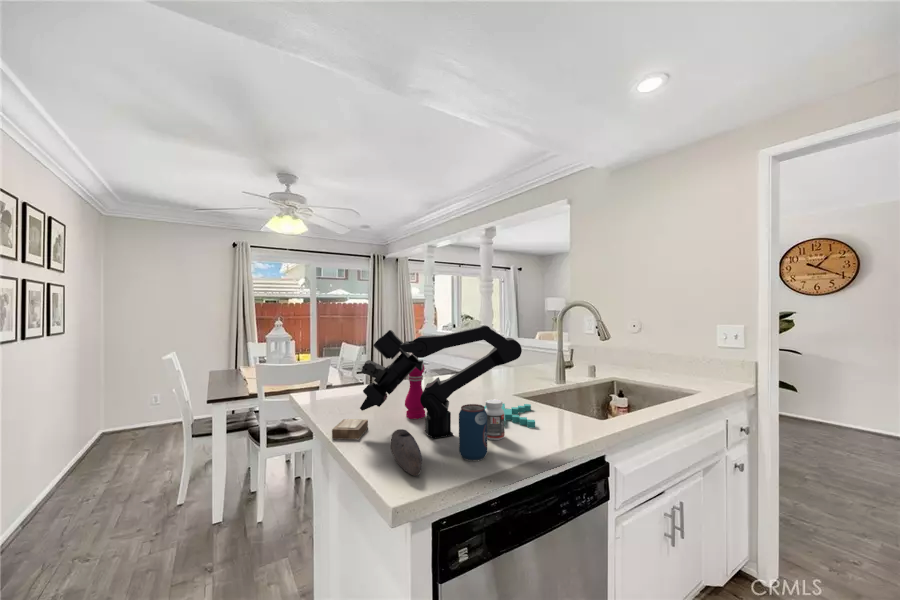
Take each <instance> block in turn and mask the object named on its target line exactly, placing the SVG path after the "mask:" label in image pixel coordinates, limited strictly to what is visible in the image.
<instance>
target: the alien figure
mask: <svg viewBox="0 0 900 600" xmlns="http://www.w3.org/2000/svg"><path fill="white" fill-rule="evenodd" d="M502 404H503V406H502V409H503V410H504V428H505V427H506V421H511V423H514V424H515V423H516V424H519V426H527V428H529V429H536V420H535V419H528V417H526V416H522V417H521V416H520V415H519V414H523V413H524V414H525V413H526V412H532V404H530V403H523V405H517V406H511V407H510V408H506V403H503V402H502ZM483 406H484V407H485V409H486V408H487V407H486V404H485V405H483Z"/></svg>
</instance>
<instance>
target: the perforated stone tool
mask: <svg viewBox="0 0 900 600" xmlns="http://www.w3.org/2000/svg"><path fill="white" fill-rule="evenodd" d="M390 451H391V454H392V456H393V458H394V461H396V463H397V464H398V465H399V467H401V468H402V469H403V470H404V471H405V472H406V473H408V475H411V476H414V477H417V476H419V474H421V471H422V467H423V456H422V455H423V454H422V451H421V450H420V446H419V445H418V442H417V441H416V439H415V438H414V436H413V435H412V434H411V433H410V432H409V431H408V430H407V429H403V428H402V429H401V428H399V429H396V430H394V431H393V432H392V434H391V438H390Z"/></svg>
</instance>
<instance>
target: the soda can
mask: <svg viewBox="0 0 900 600" xmlns="http://www.w3.org/2000/svg"><path fill="white" fill-rule="evenodd" d="M484 406H485V405H481V404H479V403H478V404H476V403H469V404H464V405H461V407H460V410H459V413H458V452H459V454H460V457H461V458H462V459H463V460H466V461H469V462H479V461H481V460H484V459H485V457H486V455H488V439H487V413H486V411H485V407H484ZM483 458H484V459H483ZM478 460H479V461H478Z"/></svg>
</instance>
